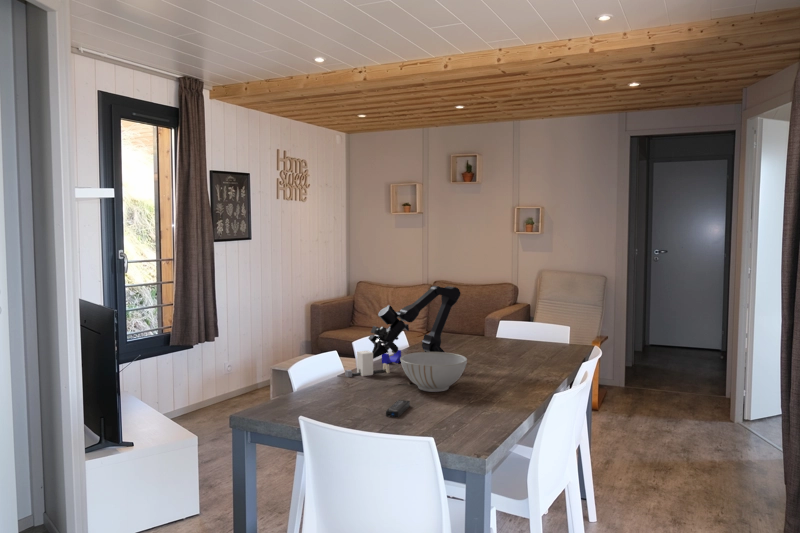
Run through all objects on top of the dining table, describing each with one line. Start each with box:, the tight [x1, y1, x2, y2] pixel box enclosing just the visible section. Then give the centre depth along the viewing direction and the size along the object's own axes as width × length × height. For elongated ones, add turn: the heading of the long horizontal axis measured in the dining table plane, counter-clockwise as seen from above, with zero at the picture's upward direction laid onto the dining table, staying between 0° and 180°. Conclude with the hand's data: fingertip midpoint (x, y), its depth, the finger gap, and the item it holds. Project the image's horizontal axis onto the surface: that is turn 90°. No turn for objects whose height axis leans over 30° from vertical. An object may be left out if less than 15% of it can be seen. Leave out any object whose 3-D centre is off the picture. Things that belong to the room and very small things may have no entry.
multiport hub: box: [385, 399, 411, 418], centre depth 212 cm, size 4×14×2 cm, turn 163°
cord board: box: [344, 363, 391, 378], centre depth 262 cm, size 20×10×5 cm, turn 119°
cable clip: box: [381, 349, 402, 365], centre depth 288 cm, size 12×4×6 cm, turn 147°
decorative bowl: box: [400, 351, 468, 393], centre depth 244 cm, size 27×27×12 cm
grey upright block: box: [356, 350, 374, 377], centre depth 261 cm, size 5×6×10 cm
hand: (370, 358), depth 262 cm, fingers closed, pressing on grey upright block
